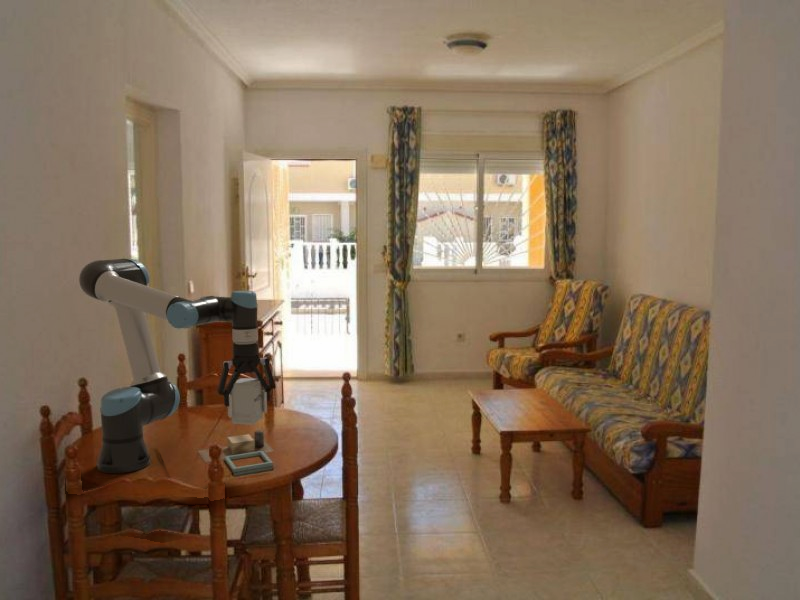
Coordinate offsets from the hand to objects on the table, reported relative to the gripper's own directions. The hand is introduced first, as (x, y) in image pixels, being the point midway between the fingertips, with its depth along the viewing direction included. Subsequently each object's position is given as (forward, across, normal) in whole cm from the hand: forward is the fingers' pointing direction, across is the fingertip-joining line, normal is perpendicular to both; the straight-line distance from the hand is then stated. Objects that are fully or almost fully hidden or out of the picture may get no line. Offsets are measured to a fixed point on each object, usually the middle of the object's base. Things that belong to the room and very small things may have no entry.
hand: (247, 414), depth 203 cm
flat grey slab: (+17, -1, +13) cm, 21 cm away
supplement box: (+2, 0, 0) cm, 2 cm away
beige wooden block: (+15, +1, +14) cm, 21 cm away
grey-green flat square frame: (+17, 0, 0) cm, 17 cm away
